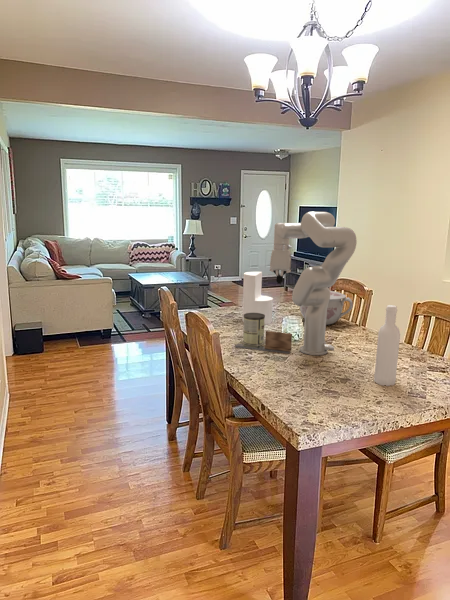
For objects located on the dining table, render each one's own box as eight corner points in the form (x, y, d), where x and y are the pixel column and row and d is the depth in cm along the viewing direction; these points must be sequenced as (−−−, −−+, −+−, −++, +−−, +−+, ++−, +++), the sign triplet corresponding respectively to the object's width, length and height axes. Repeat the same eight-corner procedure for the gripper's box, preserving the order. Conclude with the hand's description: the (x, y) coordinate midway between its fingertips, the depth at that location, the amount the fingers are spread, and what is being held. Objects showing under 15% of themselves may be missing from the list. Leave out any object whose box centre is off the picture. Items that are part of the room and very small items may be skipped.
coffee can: (243, 339, 224) (244, 312, 222) (264, 340, 224) (265, 313, 221) (242, 345, 214) (242, 317, 212) (263, 346, 213) (264, 317, 211)
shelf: (291, 349, 206) (292, 333, 205) (290, 351, 204) (291, 334, 202) (266, 346, 210) (266, 330, 209) (264, 348, 208) (265, 331, 206)
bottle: (378, 376, 178) (385, 302, 172) (398, 381, 173) (406, 305, 167) (370, 382, 172) (377, 306, 166) (391, 387, 167) (399, 309, 161)
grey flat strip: (290, 351, 207) (290, 349, 207) (288, 353, 204) (289, 352, 204) (237, 345, 215) (237, 343, 215) (235, 347, 212) (235, 345, 212)
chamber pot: (287, 319, 269) (289, 284, 265) (324, 315, 280) (326, 282, 276) (315, 330, 244) (317, 293, 240) (355, 326, 255) (357, 290, 251)
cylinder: (239, 323, 256) (240, 274, 251) (246, 316, 272) (247, 270, 267) (268, 326, 251) (270, 276, 246) (274, 319, 268) (276, 272, 262)
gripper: (297, 247, 227) (295, 283, 231) (268, 246, 232) (267, 281, 236) (294, 248, 220) (292, 285, 224) (264, 247, 225) (263, 283, 229)
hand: (279, 283), depth 230 cm, fingers closed
